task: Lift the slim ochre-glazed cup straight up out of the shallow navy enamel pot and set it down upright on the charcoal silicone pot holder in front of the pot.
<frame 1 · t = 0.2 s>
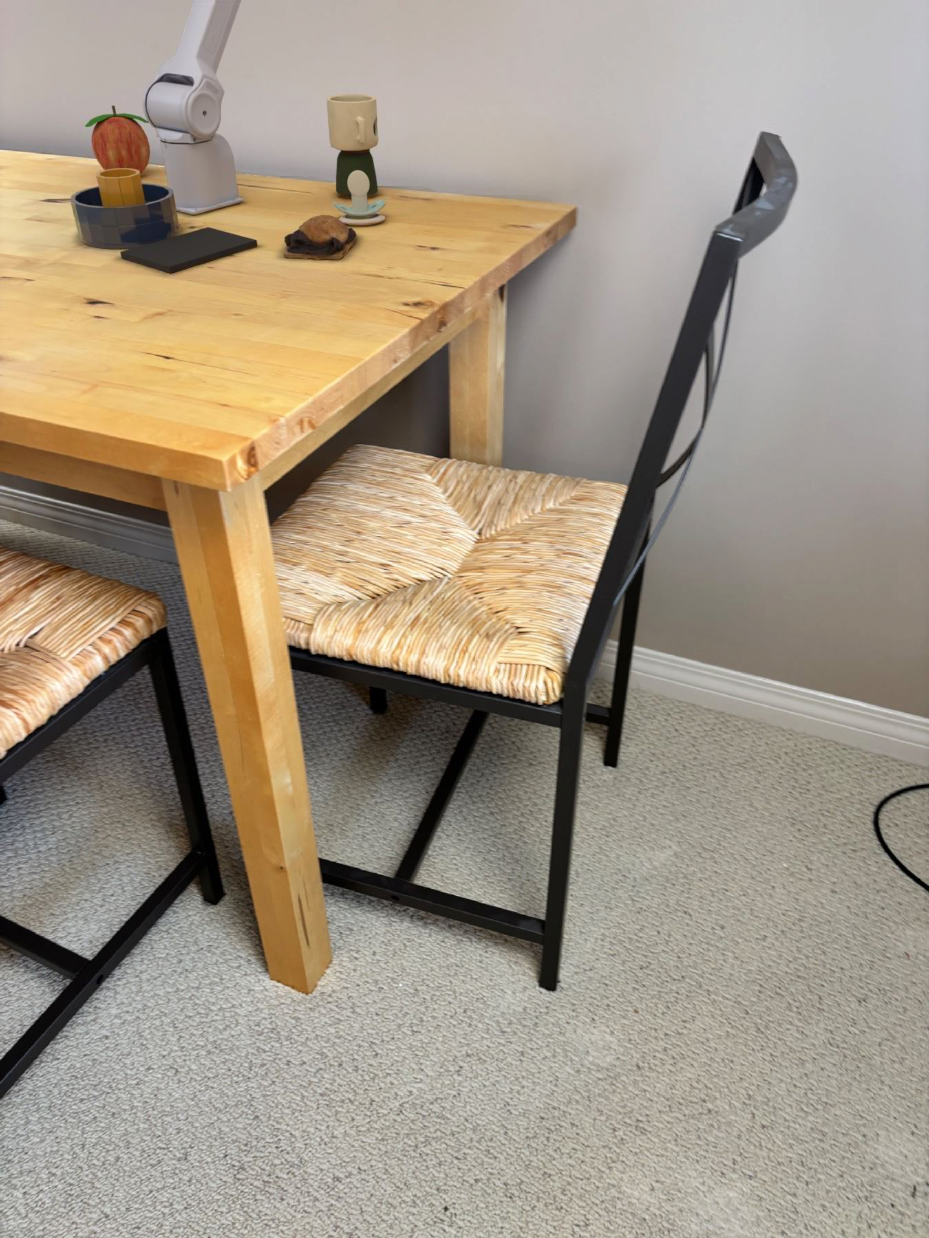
pot: (130, 234, 125), on the table
cup: (129, 230, 124), point 1 cm above the table, touching pot
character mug: (357, 196, 142), on the table
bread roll: (321, 248, 121), on the table
pacifier: (361, 222, 131), on the table
fruit: (128, 177, 151), on the table
pot holder: (190, 252, 119), on the table
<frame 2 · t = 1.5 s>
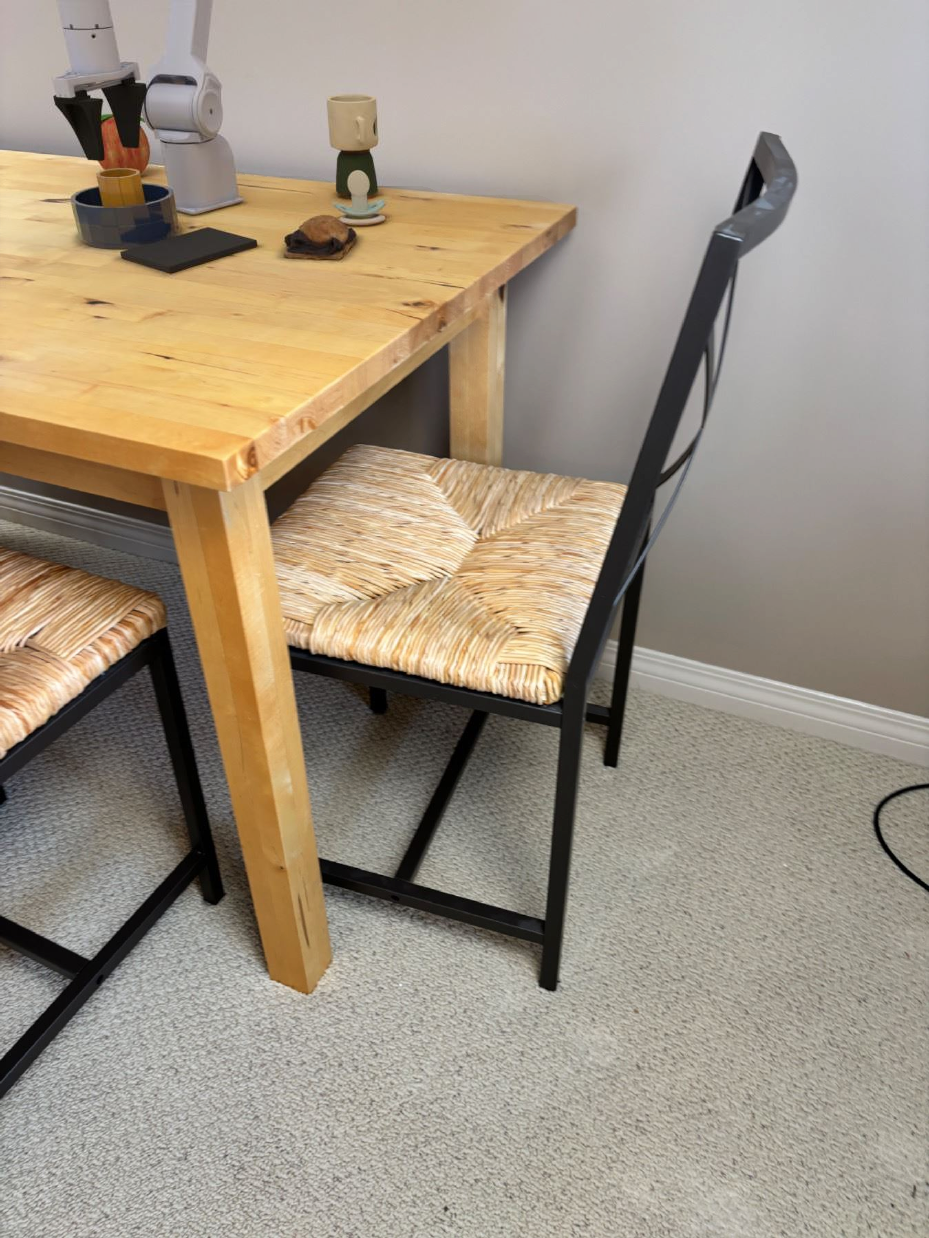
hand: (114, 153, 119), 10 cm above the table, tool pointing down, fingers open, 7 cm apart
nothing on the table moved.
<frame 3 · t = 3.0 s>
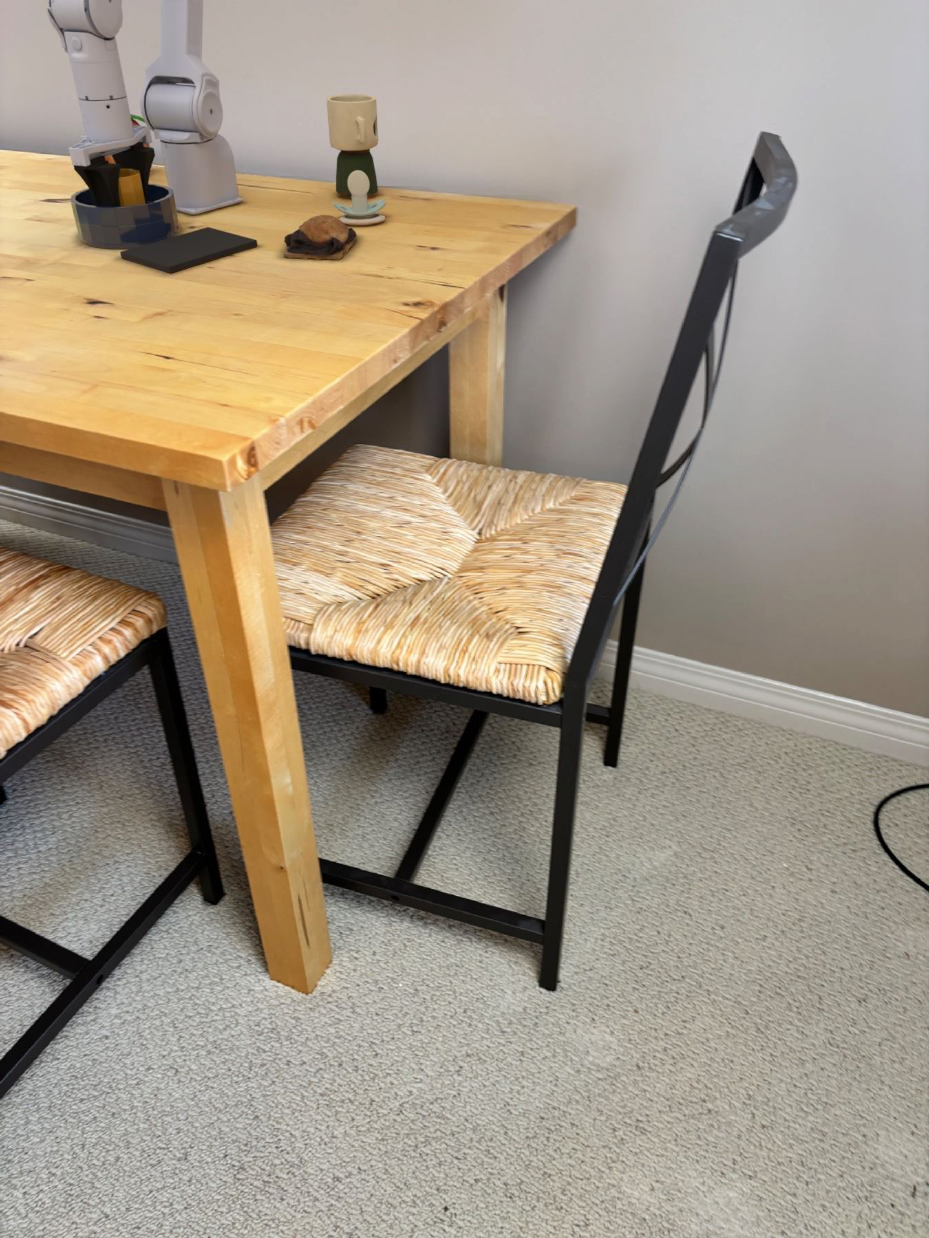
hand: (126, 214, 123), 3 cm above the table, tool pointing down, fingers closed on cup, 5 cm apart
cup: (129, 230, 124), point 1 cm above the table, touching gripper, pot
everything else where it was.
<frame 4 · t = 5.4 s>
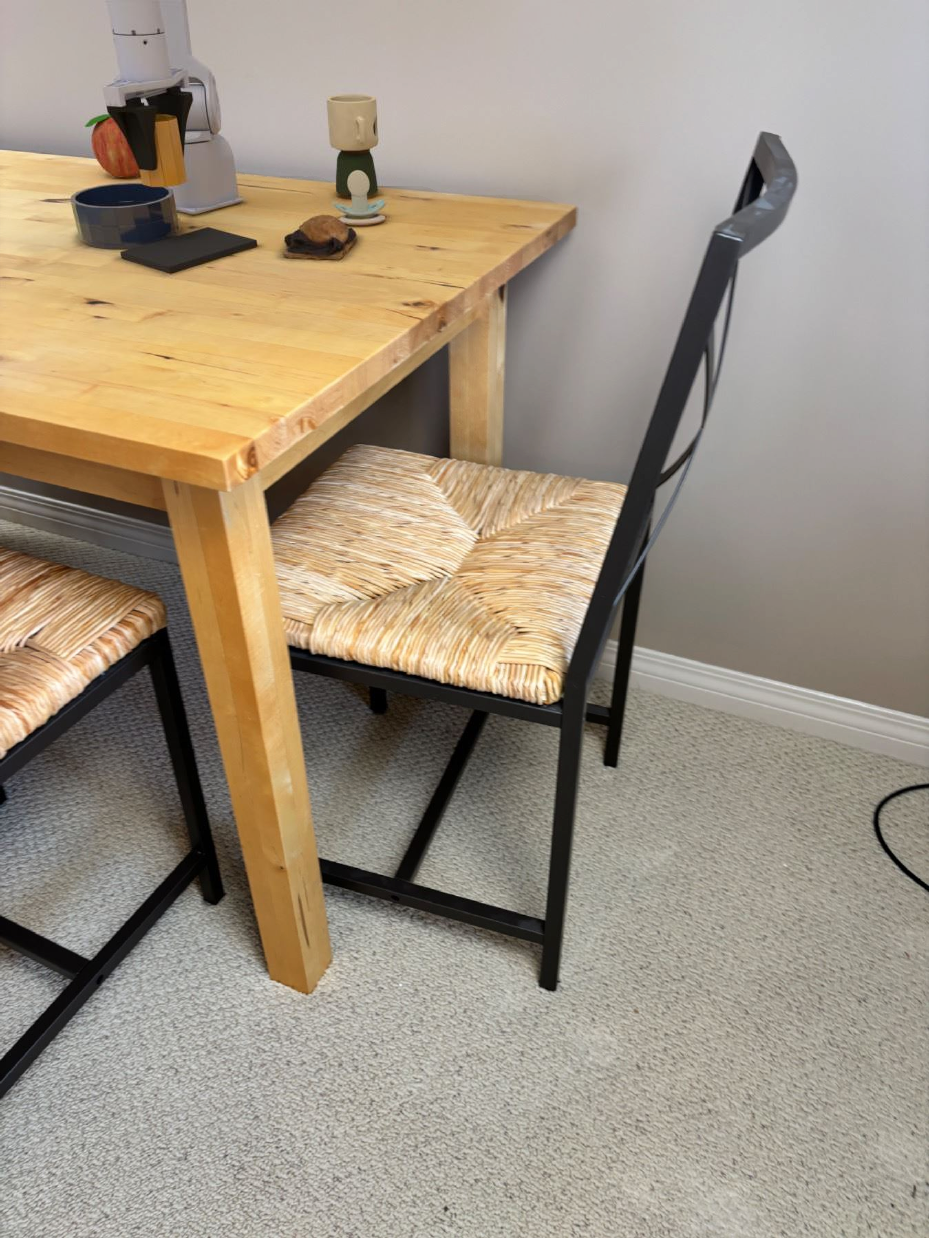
hand: (162, 164, 114), 10 cm above the table, tool pointing down, fingers closed on cup, 5 cm apart
cup: (164, 182, 115), point 8 cm above the table, touching gripper
everything else where it was.
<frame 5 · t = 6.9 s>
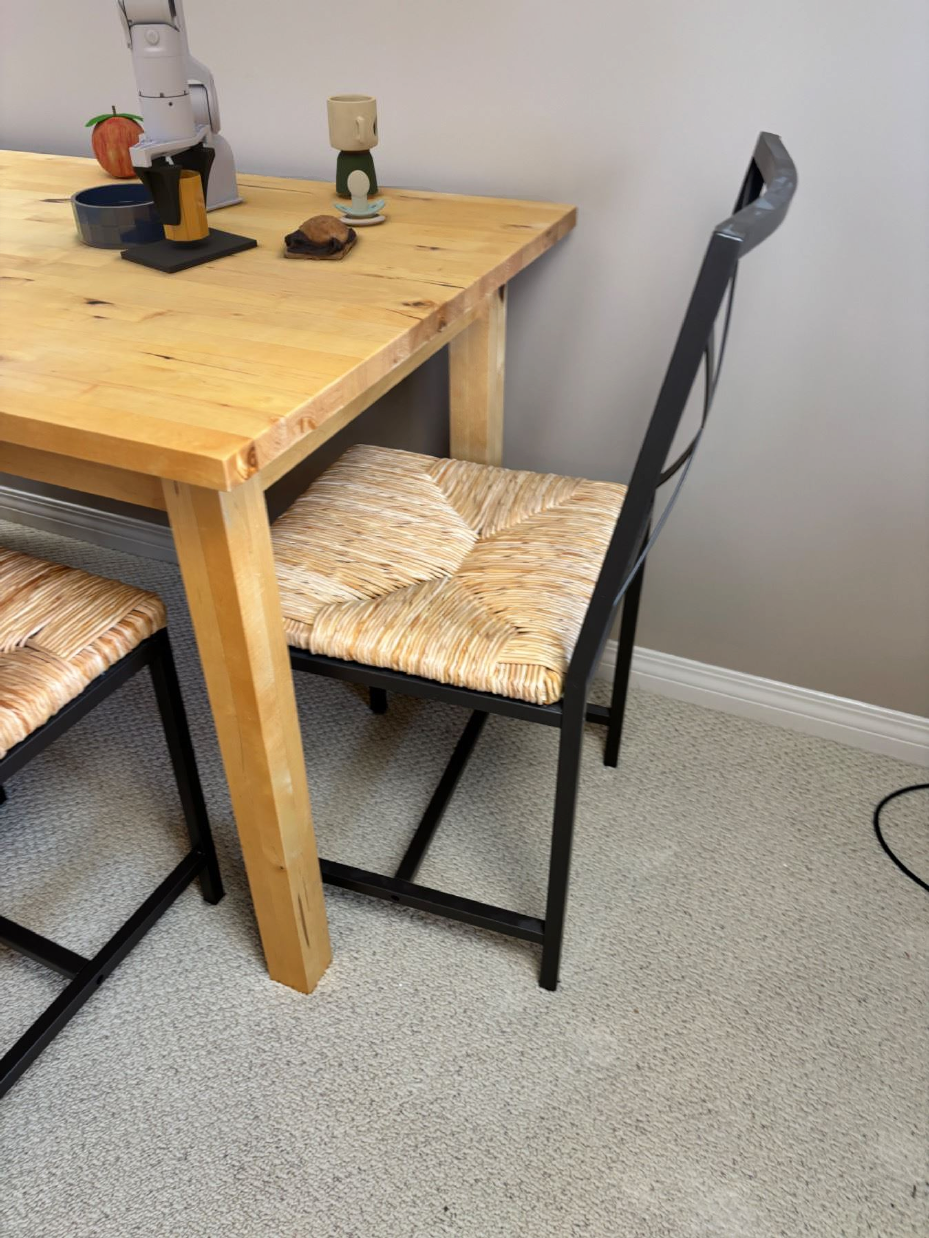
hand: (185, 218, 116), 4 cm above the table, tool pointing down, fingers closed on cup, 5 cm apart
cup: (187, 235, 117), point 2 cm above the table, touching gripper
everything else where it was.
when the fingers open (3 cm above the table, at t = 7.9 s): cup stays where it is, resting on pot holder.
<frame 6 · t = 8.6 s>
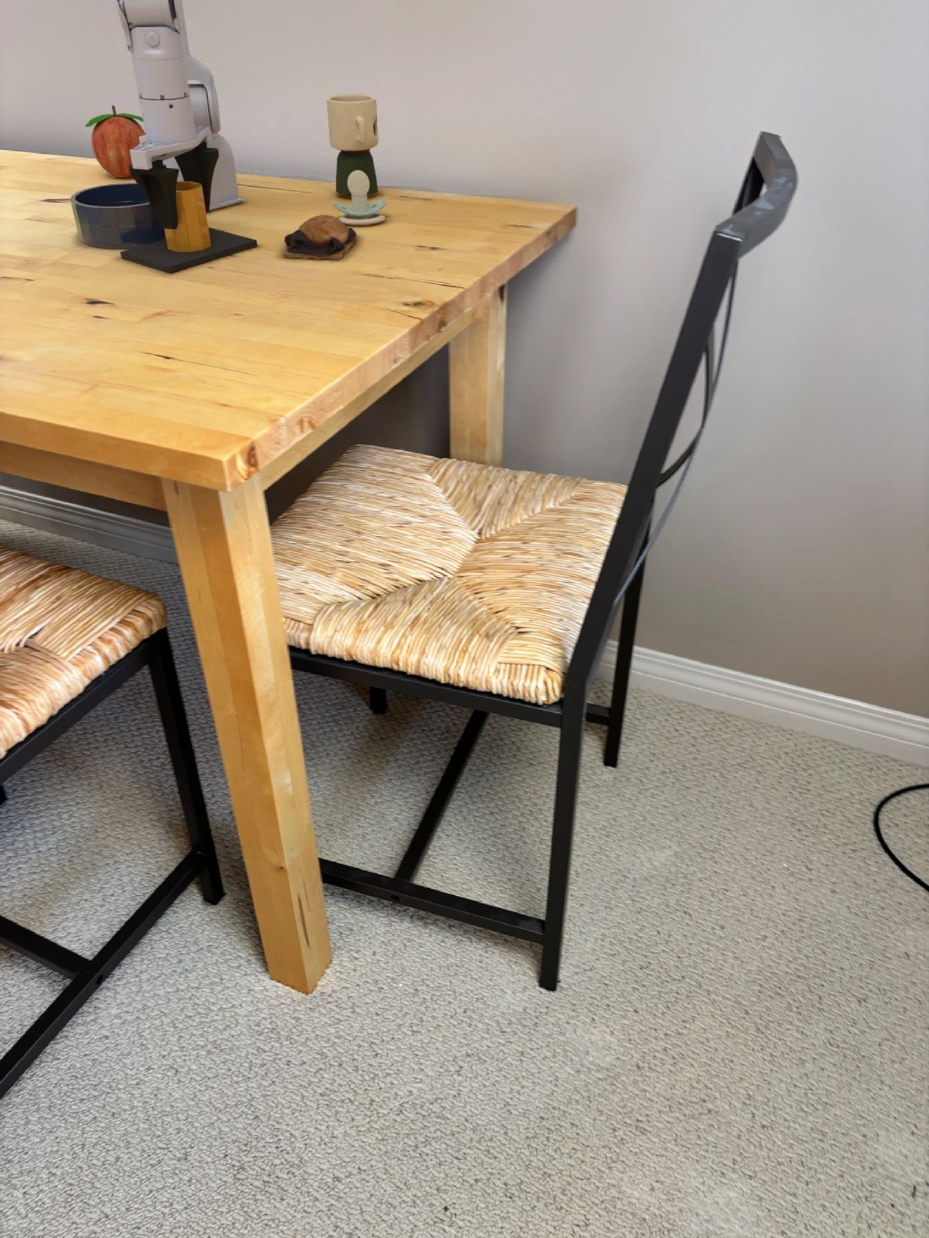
hand: (185, 220, 116), 4 cm above the table, tool pointing down, fingers open, 7 cm apart
cup: (189, 245, 118), point 1 cm above the table, touching pot holder
everything else where it was.
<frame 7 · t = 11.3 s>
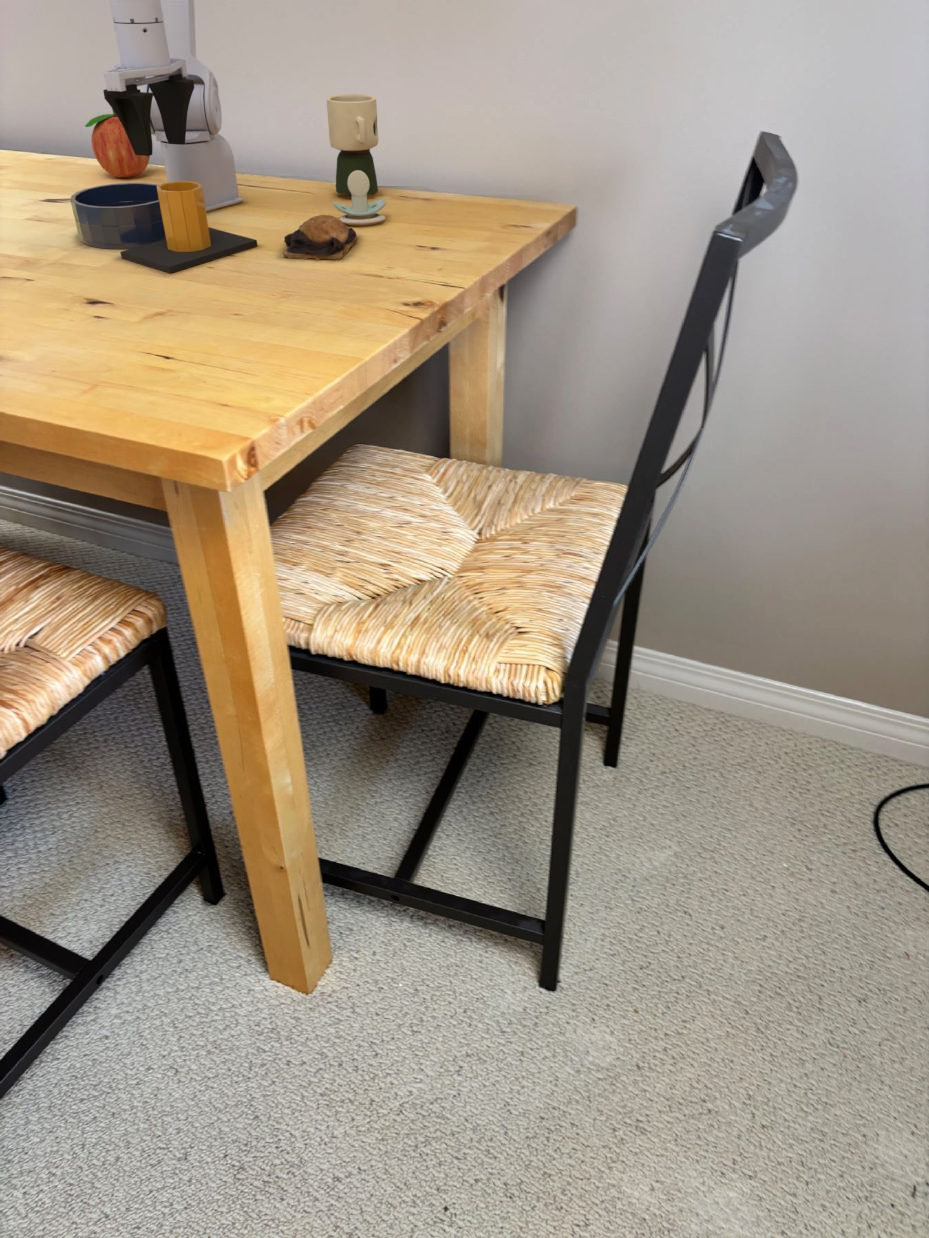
hand: (160, 149, 118), 10 cm above the table, tool pointing down, fingers open, 7 cm apart
nothing on the table moved.
at the end: cup inside the target area on the pot holder (0.1 cm from its centre), point 0.8 cm above the pot holder's base; cup tilted 0°; the gripper is holding nothing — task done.
